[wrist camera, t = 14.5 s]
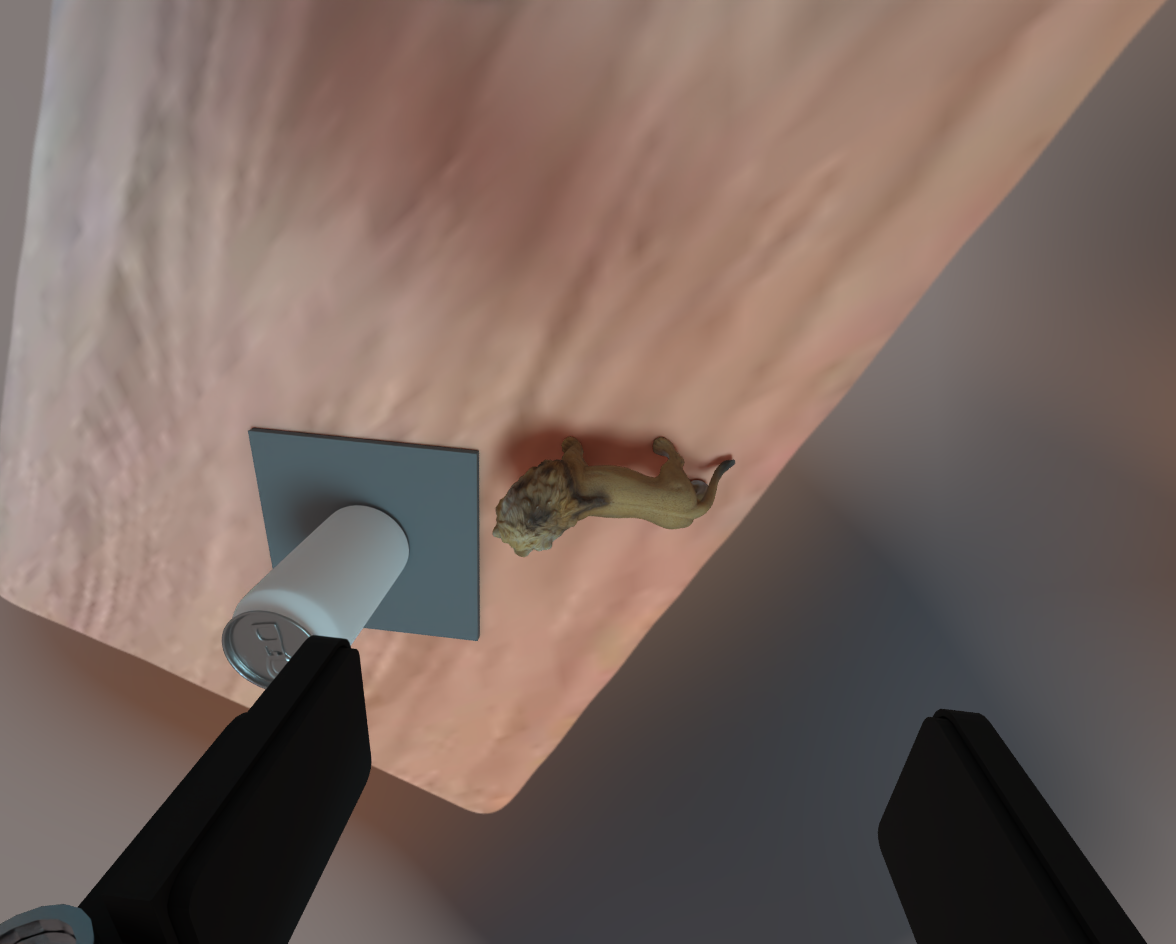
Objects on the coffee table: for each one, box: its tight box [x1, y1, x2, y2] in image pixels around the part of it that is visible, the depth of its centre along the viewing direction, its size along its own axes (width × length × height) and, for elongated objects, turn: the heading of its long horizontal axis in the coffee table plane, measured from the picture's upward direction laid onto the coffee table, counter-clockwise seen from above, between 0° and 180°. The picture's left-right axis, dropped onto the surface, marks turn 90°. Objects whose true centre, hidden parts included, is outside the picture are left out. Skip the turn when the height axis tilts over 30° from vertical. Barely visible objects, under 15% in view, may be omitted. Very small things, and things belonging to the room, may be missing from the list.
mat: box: [248, 428, 480, 641], centre depth 42 cm, size 16×16×1 cm
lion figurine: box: [493, 437, 735, 557], centre depth 34 cm, size 15×5×9 cm, turn 97°
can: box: [222, 505, 409, 689], centre depth 36 cm, size 6×6×12 cm
